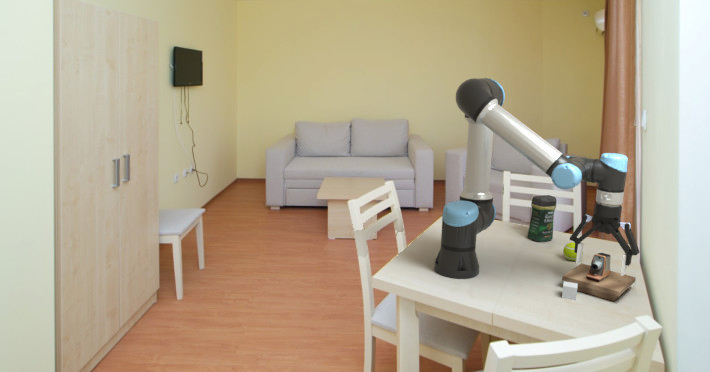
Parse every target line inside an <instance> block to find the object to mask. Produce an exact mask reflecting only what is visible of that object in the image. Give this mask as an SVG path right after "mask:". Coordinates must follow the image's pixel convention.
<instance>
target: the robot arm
mask: <svg viewBox="0 0 710 372" xmlns="http://www.w3.org/2000/svg"><path fill="white" fill-rule="evenodd" d="M505 100H506V94H505V90H504V87H503V86H502V84H501V83H499V82H498V81H497V80H495V79H491V78H487V77H483V78H482V77H481V78H469V79H467V80H465V81H463V82H461V84H460V85H459V86H458V87H457V89H456V92H455V103H456V105H457V108H458V109H459V110H460V111H461V112H462V113H463V114H464V119H465V121H467V122H468V127H467V128H468V129H467V143H466V145H467V146H466V158H465V159H466V161H465V162H466V163H465V177H464V189H463V191H462V192H460V193H459V200H456V201H449V202H448V203H446V204H445V205H444V206H443V209H442V215H441V237H440V238H441V239H440V249H439V250H438V253H437V256H436V258H435V261H434V271H435V272H436V273H437V274H439V275H441V276H445V277H448V278H452V279H471V278H475V277H477V276H478V275H479V274H480V264H479V263H480V262H479V260H478V256H477V252H476V247H477V246H476V245H477V243H476V242H477V235H478V234H480V233H481V232H484V231H485V230H487V229H489V227H491V225H493V223H494V221H495V219H496V216H497V210H496V206H495V204H494V196H493V194H492V193H491V192H490V185H491V184H490V181H491V170H492V158H493V156H492V154H493V145H494V143H493V142H494V134H495V135H496V136H498V137H499V138H500V139H501V140H502V141H504V142H505V143H507V144H508V145H509V146H510V147H512V148H513V149H514V150H516V152H518V153H519V154H521V155H522V156H523V157H525V158H526V159H527V160H528V161H530V162H531V163H532V164H533V165H535V166H536V167H537V168H538V169H539V170H541V171H542V172H543V173H545V174H546V175H547V176H549V177H550V179H551V181H552V184H553V185H554V186H555V188H558V189H560V190H563V191H564V190H565V191H566V190H567V191H568V190H571V189H573V188H575V187H577V186H579V185H580V184H581V183H582V182H584V183H591V184H597V188H596V196H595V205H594V211H593V216H592V215H590V214H589V213H586V214H584V215H582V217H581V218H582V219H581V222H580V223H578V225H577V227H576V228H575V230H574V231H573V233H572V234H571V235H570V236H569V241H572V242H573V243H575V249H574V252H575V253H577V258H576V261H575V264H576V265H580V264H581V263H582V258H583V255H582V252H583V253H584V244H585V243H584V242H583V241H584V240H585V239H586V238H588V237H589V236H591V235H592V234H593V233H594V232H595V231H598V233H601V234H602V233H604V234H607V235H610V234H611V235H612V237H614V238H615V240H616V242H617V243H618V244H619V246H620V248H621V249H622V251H623V252H624V254H623V256H622V260H621V269H620V273H621V274H620V275H621V276H624V275H627V268H628V267H629V266H631V264H632V258H633V256H637V255H639V254H640V249H639V246H638V244H637V241H636V239H635V236H634V234H633V231H632V222H630V221H628V222H622V221H621V216H622V210H623V209H622V208H623V207H622V205H623V203H624V194H625V188H626V187H625V186H626V181H627V175H628V163H629V159H628V156H627V155H626V154H625V155H624V154H622V153H615V152H612V153H611V152H604V153H602V154H601V156H600V158H590V157H582V156H574V155H565V154H564V153H563V152H561V151H560V150H558V149H557V148H556V147H555V146H553V145H552V144H550V143H549V142H548V141H547V140H545V139H544V138H542V137H541V136H540V135H539V134H537V133H536V132H535V131H534V130H532V129H531V128H530V127H528V126H527V125H526V124H525V123H524V122H522V121H520V120H519V119H518V118H517V117H515V116H514V115H513V114H511V113H510V112H509V111H507V110H506V109H504V107H503V105H504V102H505ZM589 222H592V224H593V226H592V227H590V228H589V229H588V230H587V231H586V232H584V233H583V234H582V235H580V234H581V232H582V230H583V229H585V227H586V225H588V223H589ZM620 227H622V230H624V234H625V237H626V239H627V241H626V240H625V237H624V236H623V234H622V233H621V231H620V229H619V228H620ZM579 235H580V236H579ZM578 236H579V237H578Z"/></svg>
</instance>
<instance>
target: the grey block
mask: <svg viewBox="0 0 710 372" xmlns="http://www.w3.org/2000/svg"><path fill="white" fill-rule="evenodd" d="M577 286H578V283H572V282H566V281H563V284H562V292H561V299H567V300H572V301H576V300H577V295H578V290H577Z"/></svg>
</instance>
